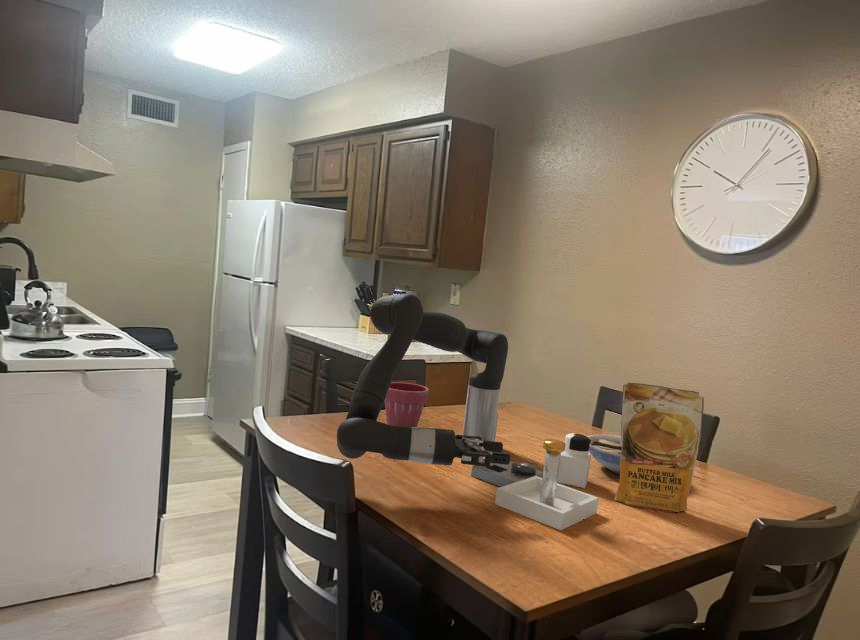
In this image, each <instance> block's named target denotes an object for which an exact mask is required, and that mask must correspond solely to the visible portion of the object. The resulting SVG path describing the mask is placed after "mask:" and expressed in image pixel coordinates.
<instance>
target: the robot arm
mask: <svg viewBox="0 0 860 640" xmlns="http://www.w3.org/2000/svg"><path fill="white" fill-rule="evenodd" d="M369 311H370V312H369V316H370V320H371V323H372V324H373V325H372V326H374V327H375V329H377V330H378V332H381V333H383V334H384V335H389V336H388V339H387V340H386V342H385V343H384V344H383V345H382V347H381V348H380V349H379V351H377V352H376V354H374V356H373V357H372V358H371V360H369V361H368V363H367V364H366V365H365V367H364V368H363V369H362V371H361V373H360V375H359V377H358V379H357V381H356V385H355V387H354V389H353V392H352V396H351V398H350V402H349V403H350V405H349V409H348V412H347V414H346V417H345V420H343V421H342V422H341V423H340V424H339V425H338V428H337V430H336V445H337V449H338V451H339V453H340V454H341V455H342V456H343V457H345V458H346V459H347V458H348V459H352V460H353V459H354V460H355V459H358V458H361V457H362V456H364V455H366V453H376V454H380V455H382V456H383V457H384V458H386V459H390V460H398V461H410V462H414V463H418V464H425V465H427V464H429V465H439V466H451V465H452V464H453V462H454V459H455V458H456V459H461V460H460V463H461V464H462V465H467V466H468V465H470V466H474V465H476V466H485V467H490V464H492V463H496V464H506V465H508V464H509V463H510V461H511V457H512V456H511V454H510V453H508V452H503V450H504V449H503V447H504V443H503V442H502V441H496V436H497V427H498V419H499V413H498V408H499V401H500V393H501V385H502V382H503V379H504V375H505V370H506V363H507V359H508V358H507V357H508V353H509V342H508V341H509V340H508V338H507V336H506V335H505V334H503V333H499V332H494V331H488V330H481V329H473V328H468V327H467V326H466V325H465V323H464V322H463V321H462V320H460V318H459V319H458V318H456V317H455V316H452V315H450V314H446V313H443V312H438V311H428V310H424V307H423V304H422V302H421V300H420V299H419V298H418V297H417V295H415V294H412V293H402V294H401V293H399V294H392V295H391V294H390V295H385V296H381V297H380V298H377V299H376V300H375V301H374V302H373V304H372V305H371V307H370V310H369ZM413 341H416V342H418V343H422V344H424V345H426V346H431V347H432V348H435V349H438V350H441V351H444V352H450V353H459V354H462V355H463V356H465V357H467V358H468V359H470V360H472V361H475V362H477V363H478V362H479V363H482V364H485V368H484V369H483V371H482V372H479V373H477V372H476V373H473V374H471V375H470V376H469V378H468V379H469V380H468V386H467V392H466V393H467V394H466V395H467V396H466V401H465V402H466V404H465V410H464V420H463V426H462V434H456V432H455V430H453V429H447V428H438V427H437V428H436V427H428V426H417V427H412V428H411V427H406V426H392V425H388V424H387V423H385V422H381V421H378V417H379V415H380V413H381V411H382V408H383V406H384V405H385V398H386V395H387V392H388V389H389V386H390V384H391V383H392V382H393V379H394V376H395V373H397V372H396V371H397V370H398V368H399V366H400V364H401V363H402V360H403V358H404V357H405V355H406V353H407V351H408V350H409V348H410V345H411V344H412V343H413Z"/></svg>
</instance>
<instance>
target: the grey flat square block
mask: <svg viewBox="0 0 860 640" xmlns="http://www.w3.org/2000/svg"><path fill="white" fill-rule="evenodd" d="M471 466H472V467H471V474H470V477H473V478H475V479H479V480H481V481H483V482H486V483H489V484H491V485H494V486H497V487H498V488H500V487H503V486H506V485H509V484H512V483H515V482H518V481H521V480H524V479H528V478H531V477H534V476H538V477H541V478H542V477H543V471H542V470H539V469H537V467H536V465H534V464H531V463H528V462H523V461H512V460H510V463H509V464H508V465H506V464H496V463H492V464H490V467H485V466H476V465H471Z"/></svg>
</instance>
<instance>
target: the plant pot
mask: <svg viewBox="0 0 860 640" xmlns="http://www.w3.org/2000/svg"><path fill="white" fill-rule="evenodd" d="M429 390H430V389H429V388H428V387H427V386H424V385H421V384H418V383H417V384H416V383H413V382H412V383H410V382H402V381H401V382H400V381H399V382H397V381H391V384H390V386H389V389H388V392H387V395H386V398H385V401H384V408H385V416H386V418H385V419H386V424H388V425H392V426H406V427H411V428H412V427H418V424H419V421H420V418H421V415H422V413H423V410H424V407H425V403H427V402H428V401H429V395H430V394H429V393H430V391H429Z"/></svg>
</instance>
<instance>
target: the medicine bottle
mask: <svg viewBox="0 0 860 640" xmlns="http://www.w3.org/2000/svg"><path fill="white" fill-rule="evenodd" d="M564 443H566V445H565V451H564V452H561V457H560V464H559V471H558V479H557V483H558V484H561V485H566V484H567V485H568V486H571V485H572V487H576V488H580V487H581V489H586V487H587V484H588V480H589V473H590V467H591V458H592V455H591V453H590V451H589V446H590V439H589V438H588V437H587V435H585V434H580V433H573V432H571V433H568V434H566V435H565V439H564ZM567 485H566V486H567Z"/></svg>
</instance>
